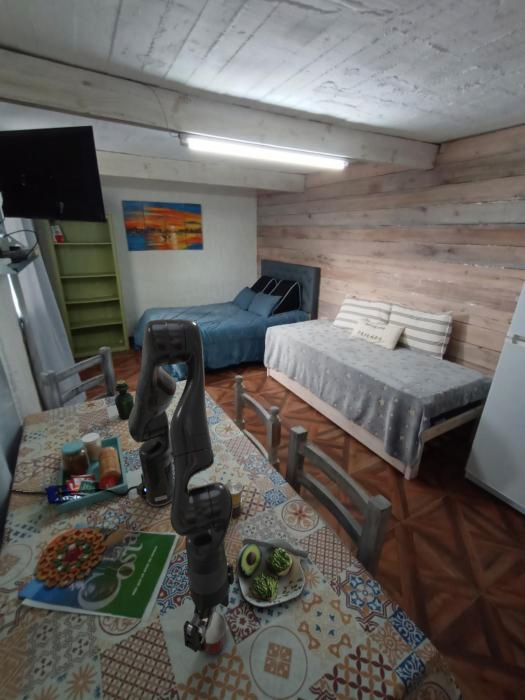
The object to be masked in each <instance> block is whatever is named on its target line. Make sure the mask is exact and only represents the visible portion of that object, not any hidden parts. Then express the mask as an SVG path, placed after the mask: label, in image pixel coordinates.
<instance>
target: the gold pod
mask: <svg viewBox="0 0 525 700" xmlns="http://www.w3.org/2000/svg"><path fill="white" fill-rule="evenodd" d="M224 485H226V486H227V488H228V489H229V490H230V493H231V495H232V501H233V505H237V504H239V503H240V501H241V496H242V491H243V483H242V482H241V481H239V480H236V479H233V480H229V481H226V483H225V484H224Z"/></svg>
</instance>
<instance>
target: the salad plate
mask: <svg viewBox="0 0 525 700" xmlns="http://www.w3.org/2000/svg"><path fill="white" fill-rule="evenodd" d="M241 543H242V548H241V549H240V550H239V552H238V554H237V556H236V562H235V563H236V573H237V579H238V583H239V591H240V594H241V598H242V599H243V600H244V601H245V602H246V603H247V604H248V605H250V606H252V607H254V608H257V609H271V608H272V607H274V606H277V605H280V604H283V603H286V602H288V601H291V600H293V599H295V598H298V597H299V596H300V594H302V592H303V591H304V588H305V586H306V582H307V581H306V576H305V573H304V570H303V568H302V565H301V560H302V559H303V560H304V559H307V558H308V557H309V552H308V551H306V550H300V549H295V548H294V546H293V545H292V544H291V543H290V542H289V541H288V540H286V539H284V538H282V537H272V538H269V539H264V540H256V539H252V538H244V539H243V540H241Z"/></svg>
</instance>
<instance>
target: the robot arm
mask: <svg viewBox="0 0 525 700" xmlns="http://www.w3.org/2000/svg"><path fill="white" fill-rule="evenodd" d="M140 361H141V362H140V369H139V374H138V375H139V376H138V380H137V384H136V389H135V393H134V394H135V395H134V406H133V409H132V411H131V413H130V416H129V419H128V421H127V423H128V425H127V427H128V432H129V435H130V437H131V439H132V440H133V441H135V442H136V443H138V444H139V443H140V444H141V443H142V444H141V445H140V447H139V449H138V455H139V461H140V467H141V472H142V473H140V479H141V483H139V484H138V485H133V486H131V487H128V488H127V490H126V491H118V490H116V491H115V492H112V493H113V494H116V495H119V496H122V495H127V494H129V493H130V492H131V490H136V495H137V496H140V497H142V498H143V497H144V498H145V499H146V502H147V504H148V505H150V506H151V507H156V508H157V507H164V506H165V505H168V504H169V503H171V504H170V511H169V513H170V514H169V519H170V524H171V527H172V529H173V531H174V532H175V533H176V534H177V535H178V536H179V537H185V543H184V544H185V553H186V554H185V555H186V560H187V563H186V566H187V567H186V570H187V571H186V572H187V573H186V574H187V578H188V581H187V582H188V588H189V594H190V599H191V601H192V602H193V604H194V611H193V617H192V619H191V620H190V621H189V620H186V621H185V622H184V623H183V637H184V638H183V639H184V646H185V647H186V648H188V649H190V650H192V651H193V652H194V653H198V652H200V653H203V652H206V651H205V649H206V647H207V645H206V637H205V636H206V632H207V630H208V629H209V628H210V626H211V622H212V618H213V614H214V613H215V612H217V607H218V605H221V606H223V607H225V608H228V607H229V604H230V599H229V598H230V596H229V594H230V592H231V587H230V586H232V585H233V584H234V583H235V575H234V574H235V573H234V565H233V564H231V563H229V562H228V558H227V553H226V542H225V541H226V536H227V532H228V529H229V527H230V523H231V519H232V517H231V516H232V510H233V501H232V495H231V493H230V490H229V489H228V488H227V486H226V485H225V484H224V483H223V482H219V481H216V482H210V483H206V484H203V485H198V486H195V487H191V488H189V484H190V481H191V479H192V478H193V477H194V476H196V475H198V474H199V473H202V472H204V471H206V470H208V469H210V468H211V467H213V465H214V463H215V462H214V461H215V457H214V452H213V451H214V450H213V446H212V439H211V435H210V429H209V424H208V417H207V405H206V381H205V362H204V347H203V338H202V333H201V330H200V326H199V324H198V323H197V322H196V321H195V320H193V319H187V318H183V319H181V318H179V319H177V318H174V319H173V318H172V319H171V318H170V319H165V318H163V319H153V320H150V321H148V322H147V323H146V325H145V327H144V330H143V333H142V343H141V360H140ZM172 365H173V366H175V365H185V366H186V381H185V383H184V388H183V390H182V393H181V395H180V398H179V400H178V402H177V404H176V407H175V408H174V411H173V414H172V417H171V421H170V422H169V416H168V413H167V411H166V410H168V408H169V407H170V406H171V404H172V402H173V400H174V397H175V395H176V391H177V381H176V379H175V377H174V375H173V374H172V372H171V371H169V369H167V367H165V366H172ZM169 429H170V436H169ZM170 438H171V445H172V452H173V453H172V452H170ZM171 453H172V454H171ZM172 457H173V458H172ZM172 459H173V460H172ZM12 489H14V490H12ZM12 489H10V492H11V493H18V494H27V495H46V494H45V492H43V490H42V491H40V490H39V491H35V490H34V492H23V491H24V490H22V489H21V490H22V491H16V490H17V489H15V488H12ZM206 618H208V619H207V622H206V621H204V620H202V619H206ZM200 628H201V629H202V633H200V632H199V630H200Z"/></svg>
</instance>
